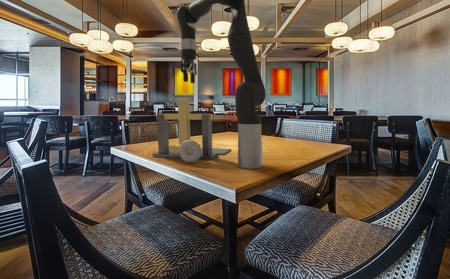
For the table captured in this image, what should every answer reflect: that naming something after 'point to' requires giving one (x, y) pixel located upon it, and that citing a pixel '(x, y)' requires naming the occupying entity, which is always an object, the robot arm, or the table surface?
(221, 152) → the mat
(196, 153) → the donut
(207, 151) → the stand
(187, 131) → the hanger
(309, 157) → the table surface
